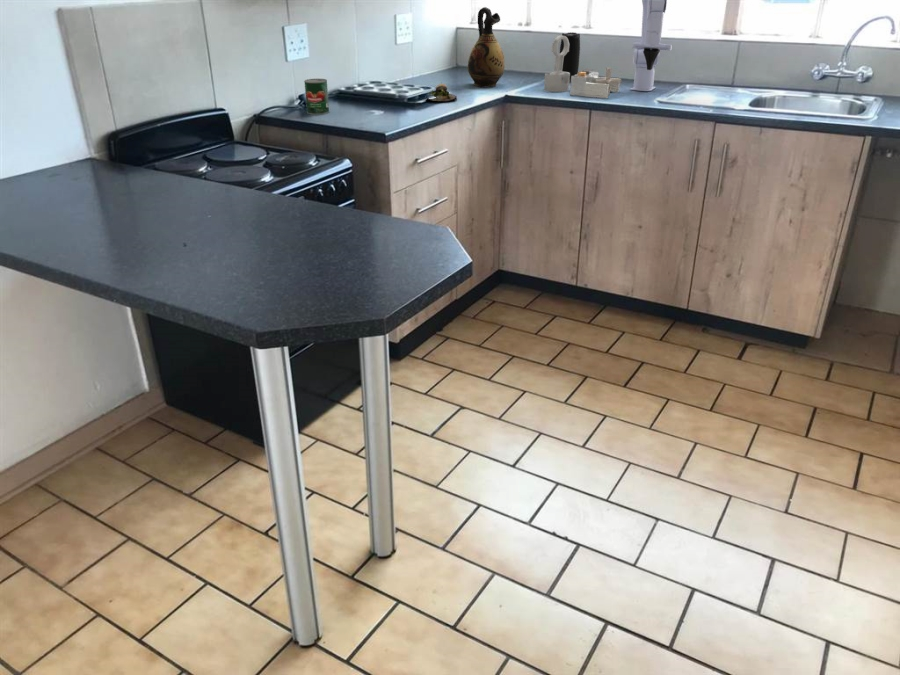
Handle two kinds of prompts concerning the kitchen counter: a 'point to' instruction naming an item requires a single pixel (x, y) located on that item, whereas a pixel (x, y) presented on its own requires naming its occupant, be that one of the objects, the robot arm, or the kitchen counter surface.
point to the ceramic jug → (486, 53)
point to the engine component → (558, 69)
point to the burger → (442, 94)
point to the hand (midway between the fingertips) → (649, 69)
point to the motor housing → (590, 85)
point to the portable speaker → (571, 54)
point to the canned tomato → (316, 96)
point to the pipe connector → (608, 79)
